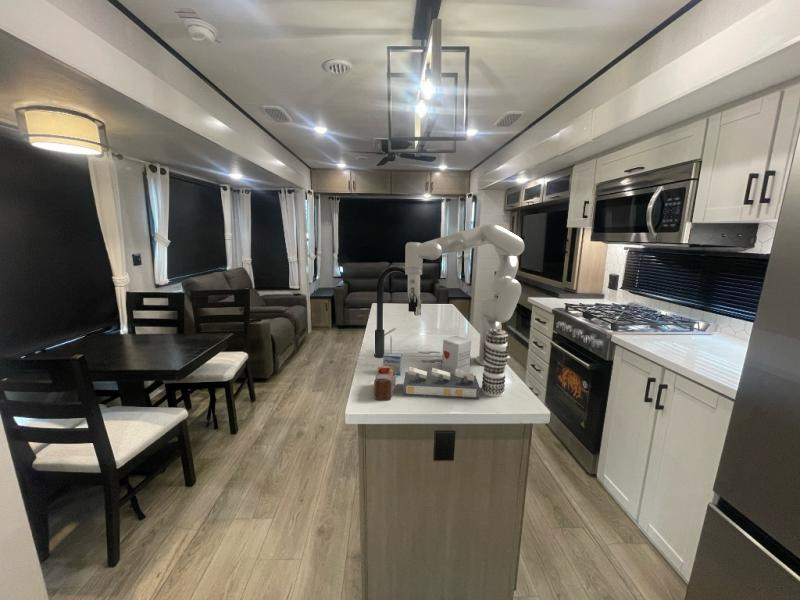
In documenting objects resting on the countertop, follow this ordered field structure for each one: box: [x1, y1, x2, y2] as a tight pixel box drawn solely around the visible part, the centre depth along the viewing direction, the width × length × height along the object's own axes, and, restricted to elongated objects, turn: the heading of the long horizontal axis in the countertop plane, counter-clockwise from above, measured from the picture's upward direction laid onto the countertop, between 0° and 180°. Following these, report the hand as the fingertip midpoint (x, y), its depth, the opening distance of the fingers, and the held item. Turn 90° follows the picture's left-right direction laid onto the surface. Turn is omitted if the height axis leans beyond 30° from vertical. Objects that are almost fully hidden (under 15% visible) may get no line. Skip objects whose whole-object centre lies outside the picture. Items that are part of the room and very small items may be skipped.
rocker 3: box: [455, 369, 475, 381], centre depth 123 cm, size 7×4×2 cm, turn 85°
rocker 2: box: [431, 367, 450, 380], centre depth 123 cm, size 7×4×2 cm, turn 85°
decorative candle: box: [481, 328, 510, 398], centre depth 123 cm, size 9×9×25 cm
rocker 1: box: [407, 366, 428, 379], centre depth 124 cm, size 7×4×2 cm, turn 85°
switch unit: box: [403, 371, 480, 400], centre depth 124 cm, size 28×10×8 cm, turn 85°
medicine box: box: [382, 352, 403, 376], centre depth 140 cm, size 8×4×9 cm, turn 82°
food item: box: [373, 365, 397, 401], centre depth 123 cm, size 14×8×10 cm, turn 179°
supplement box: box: [441, 335, 472, 374], centre depth 142 cm, size 9×9×15 cm
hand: (413, 309), depth 143 cm, fingers open, 9 cm apart
